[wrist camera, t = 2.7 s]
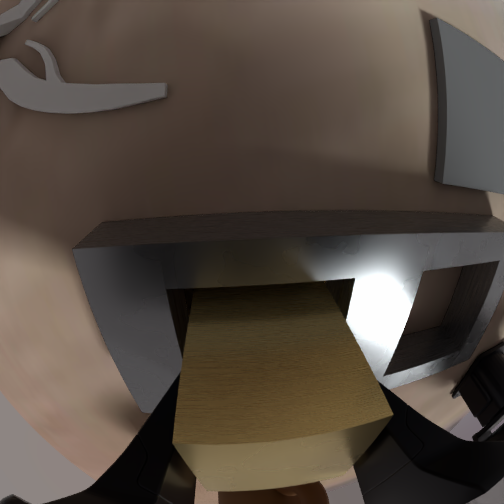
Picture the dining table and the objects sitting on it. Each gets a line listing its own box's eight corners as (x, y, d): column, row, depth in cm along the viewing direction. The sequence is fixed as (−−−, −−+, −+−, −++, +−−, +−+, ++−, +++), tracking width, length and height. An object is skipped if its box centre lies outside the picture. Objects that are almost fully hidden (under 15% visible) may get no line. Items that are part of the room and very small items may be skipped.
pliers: (157, 100, 7) (-66, 167, 5) (168, 104, 8) (-49, 161, 7) (193, -92, 3) (-43, 18, 1) (196, -74, 4) (-29, 20, 3)
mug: (248, 408, 15) (263, 543, 7) (345, 411, 17) (380, 516, 8) (209, 463, 20) (211, 544, 11) (281, 466, 21) (293, 539, 13)
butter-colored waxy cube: (314, 264, 11) (393, 414, 4) (303, 346, 13) (342, 475, 6) (197, 271, 10) (172, 443, 4) (210, 353, 12) (207, 491, 6)
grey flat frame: (493, 216, 11) (522, 232, 8) (451, 336, 15) (469, 358, 12) (102, 222, 9) (72, 249, 7) (149, 376, 13) (142, 412, 11)
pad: (513, 74, 7) (520, 75, 6) (511, 194, 10) (517, 197, 10) (429, 20, 6) (437, 17, 6) (434, 180, 10) (442, 183, 9)
